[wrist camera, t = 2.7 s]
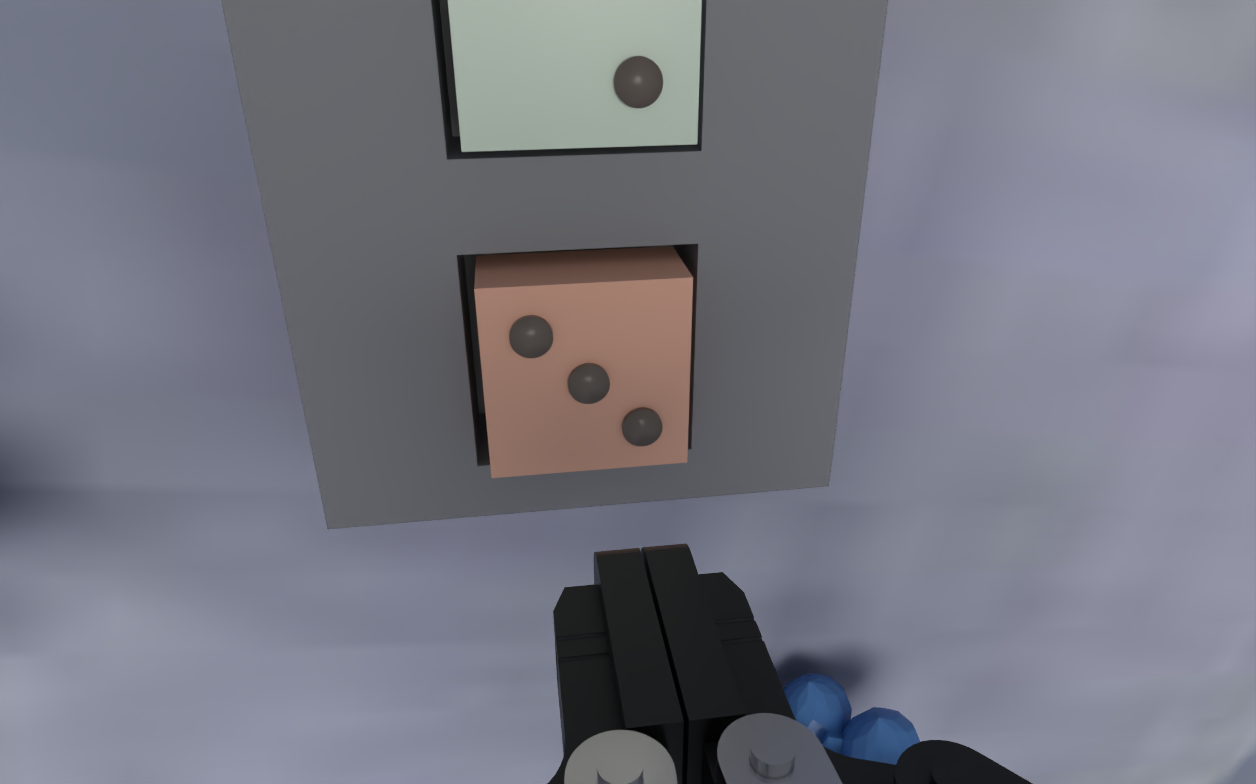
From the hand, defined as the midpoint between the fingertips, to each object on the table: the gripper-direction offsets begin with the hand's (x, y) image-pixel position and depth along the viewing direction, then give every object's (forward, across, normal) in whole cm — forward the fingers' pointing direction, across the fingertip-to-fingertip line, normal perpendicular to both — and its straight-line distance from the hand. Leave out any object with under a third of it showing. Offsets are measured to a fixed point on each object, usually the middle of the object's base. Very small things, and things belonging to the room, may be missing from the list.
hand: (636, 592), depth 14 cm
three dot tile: (+10, 0, 0) cm, 10 cm away
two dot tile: (+10, 0, -8) cm, 13 cm away
